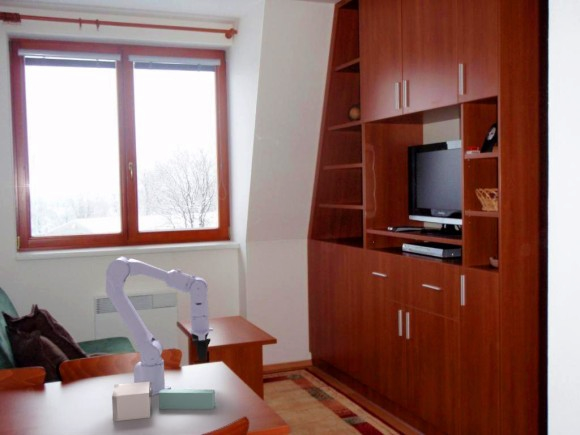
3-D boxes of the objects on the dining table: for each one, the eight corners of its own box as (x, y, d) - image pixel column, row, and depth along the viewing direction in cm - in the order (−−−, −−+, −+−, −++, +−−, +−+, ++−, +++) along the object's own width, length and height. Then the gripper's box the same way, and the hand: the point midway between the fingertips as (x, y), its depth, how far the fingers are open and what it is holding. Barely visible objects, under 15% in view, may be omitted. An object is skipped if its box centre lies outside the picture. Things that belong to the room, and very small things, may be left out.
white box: (113, 421, 176) (111, 396, 176) (115, 408, 187) (114, 384, 187) (153, 417, 178) (152, 392, 178) (153, 404, 189) (152, 381, 189)
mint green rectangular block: (159, 409, 185) (158, 392, 185) (162, 405, 188) (161, 389, 188) (212, 410, 183) (212, 392, 183) (215, 406, 186) (214, 389, 186)
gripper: (214, 319, 197) (215, 362, 198) (210, 310, 211) (212, 350, 212) (191, 320, 196) (193, 364, 197) (189, 312, 210) (190, 352, 211)
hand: (201, 357), depth 204 cm, fingers open, 7 cm apart
